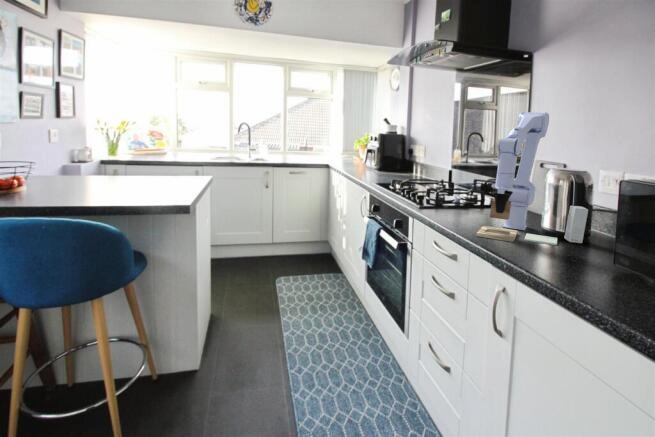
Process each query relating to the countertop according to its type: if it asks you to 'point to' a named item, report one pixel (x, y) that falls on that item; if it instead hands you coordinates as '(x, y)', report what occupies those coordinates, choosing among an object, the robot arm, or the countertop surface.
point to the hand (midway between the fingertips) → (500, 211)
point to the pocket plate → (486, 232)
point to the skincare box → (576, 224)
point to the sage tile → (541, 239)
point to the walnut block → (503, 215)
